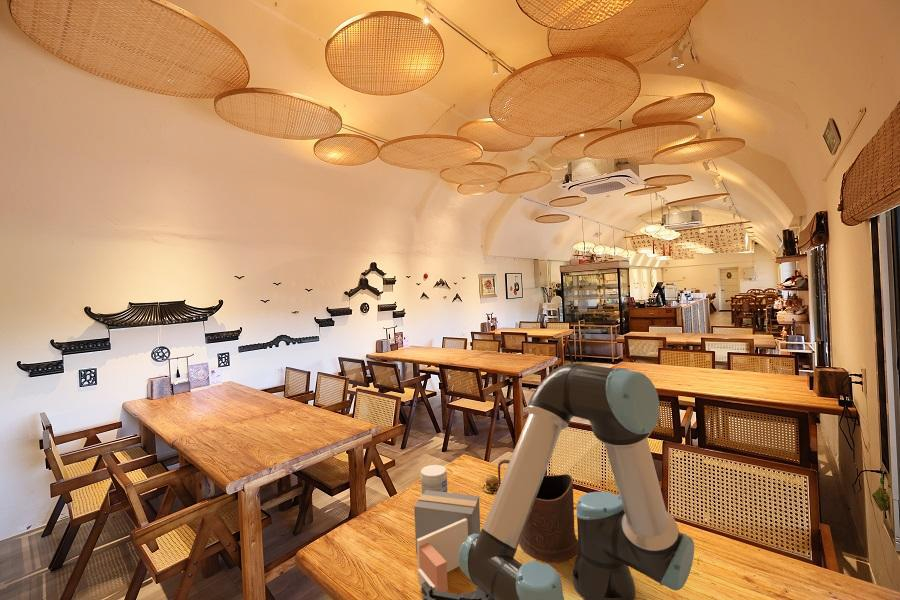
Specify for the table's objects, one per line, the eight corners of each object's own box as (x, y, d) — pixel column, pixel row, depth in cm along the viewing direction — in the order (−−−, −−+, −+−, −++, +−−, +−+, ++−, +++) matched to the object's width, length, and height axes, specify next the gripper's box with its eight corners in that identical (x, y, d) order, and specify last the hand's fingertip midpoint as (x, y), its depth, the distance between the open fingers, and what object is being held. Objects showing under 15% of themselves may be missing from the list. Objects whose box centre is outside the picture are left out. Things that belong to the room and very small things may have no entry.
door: (467, 559, 109) (465, 517, 108) (488, 580, 100) (487, 535, 100) (418, 583, 100) (416, 539, 100) (438, 609, 91) (436, 560, 91)
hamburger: (504, 499, 142) (503, 485, 142) (474, 495, 146) (473, 481, 146) (510, 484, 153) (509, 471, 153) (482, 480, 158) (481, 467, 158)
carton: (481, 540, 118) (479, 495, 118) (474, 562, 109) (472, 513, 109) (426, 532, 123) (425, 488, 123) (415, 552, 114) (413, 505, 114)
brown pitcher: (584, 566, 105) (581, 478, 105) (498, 558, 110) (495, 473, 110) (575, 526, 123) (572, 451, 123) (502, 520, 128) (499, 448, 128)
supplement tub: (449, 516, 132) (448, 474, 132) (423, 519, 131) (421, 477, 130) (446, 501, 141) (444, 463, 141) (421, 504, 140) (419, 465, 140)
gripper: (451, 686, 64) (397, 603, 81) (551, 610, 77) (486, 553, 95) (448, 643, 63) (395, 570, 81) (549, 574, 77) (484, 524, 95)
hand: (444, 561), depth 88 cm, fingers open, 13 cm apart
